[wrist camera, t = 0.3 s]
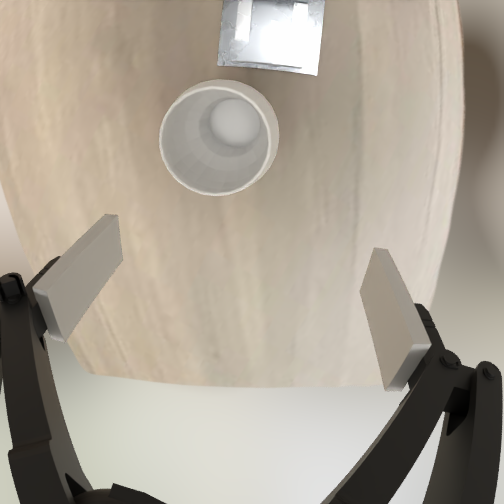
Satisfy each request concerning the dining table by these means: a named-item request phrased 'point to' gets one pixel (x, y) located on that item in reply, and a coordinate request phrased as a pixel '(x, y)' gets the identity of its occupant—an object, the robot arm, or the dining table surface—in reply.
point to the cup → (219, 137)
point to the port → (271, 34)
